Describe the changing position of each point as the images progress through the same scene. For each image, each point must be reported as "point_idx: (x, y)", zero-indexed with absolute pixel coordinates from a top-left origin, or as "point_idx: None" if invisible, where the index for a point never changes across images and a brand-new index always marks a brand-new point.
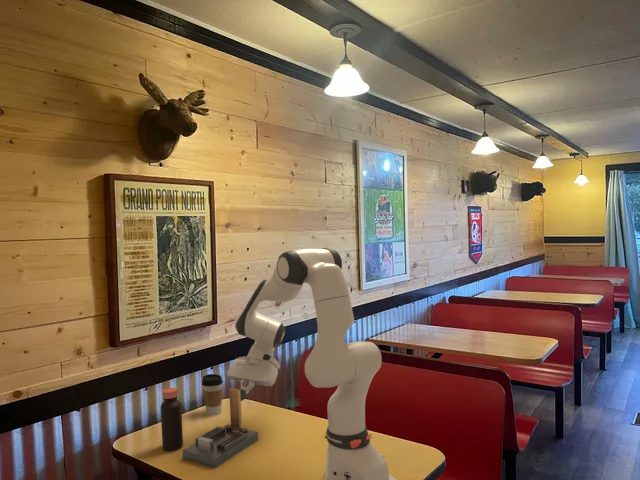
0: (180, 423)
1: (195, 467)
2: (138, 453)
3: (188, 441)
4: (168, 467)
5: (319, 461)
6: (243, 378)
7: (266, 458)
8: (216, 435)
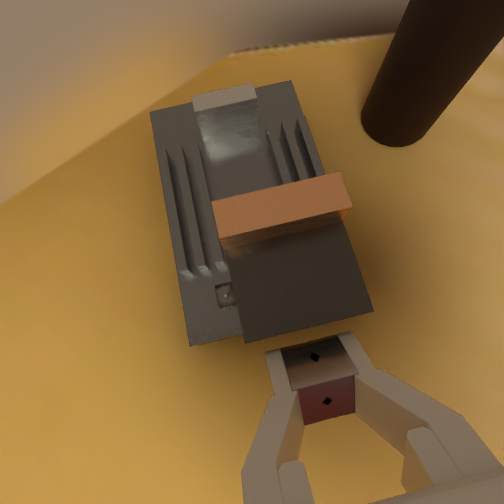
0: (405, 60)
1: None
2: None
3: (397, 171)
4: (274, 61)
5: None
6: (461, 480)
7: (66, 268)
8: None
